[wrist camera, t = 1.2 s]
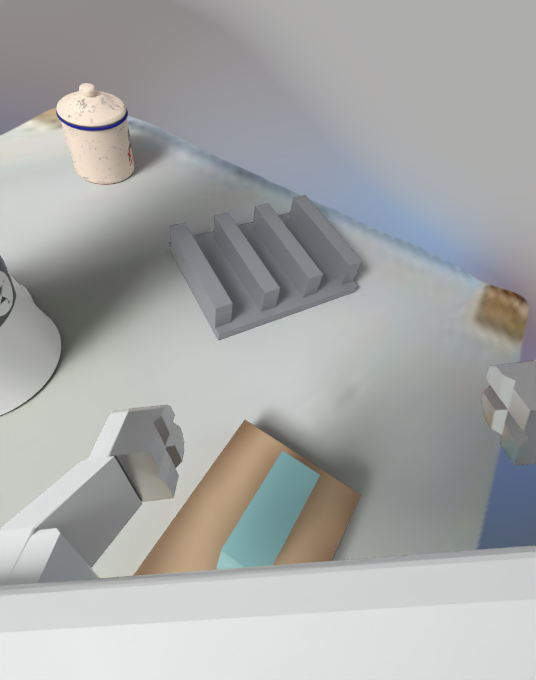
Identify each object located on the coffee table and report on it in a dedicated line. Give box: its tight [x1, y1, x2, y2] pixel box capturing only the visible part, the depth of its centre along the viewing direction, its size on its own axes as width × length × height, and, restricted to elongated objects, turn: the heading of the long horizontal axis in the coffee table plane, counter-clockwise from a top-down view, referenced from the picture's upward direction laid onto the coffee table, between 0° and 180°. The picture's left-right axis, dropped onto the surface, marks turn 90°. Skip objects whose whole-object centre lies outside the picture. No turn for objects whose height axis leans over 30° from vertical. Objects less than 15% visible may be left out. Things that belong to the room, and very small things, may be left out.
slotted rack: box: [169, 195, 362, 340], centre depth 50 cm, size 20×16×5 cm
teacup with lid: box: [56, 83, 134, 184], centre depth 56 cm, size 12×9×12 cm
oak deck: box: [133, 420, 361, 576], centre depth 32 cm, size 12×16×4 cm
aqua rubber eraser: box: [216, 450, 320, 569], centre depth 25 cm, size 2×6×12 cm, turn 148°
